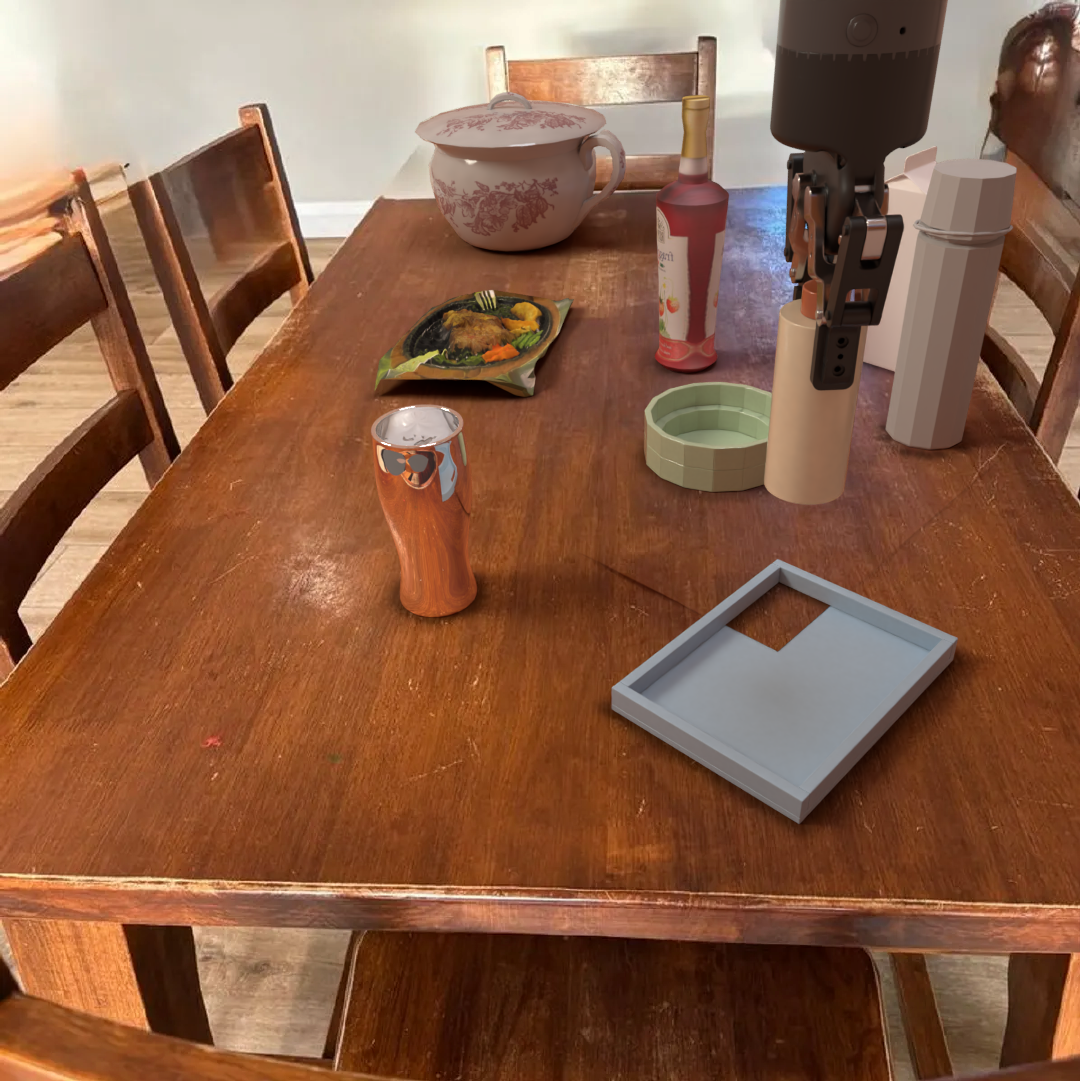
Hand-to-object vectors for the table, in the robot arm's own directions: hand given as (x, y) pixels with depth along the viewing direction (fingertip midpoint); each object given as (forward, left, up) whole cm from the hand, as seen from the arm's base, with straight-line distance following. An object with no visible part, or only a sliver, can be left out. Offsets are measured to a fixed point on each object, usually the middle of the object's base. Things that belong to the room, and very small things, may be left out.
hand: (818, 365), depth 57 cm
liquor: (-36, -36, -23) cm, 56 cm away
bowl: (-21, -21, -23) cm, 38 cm away
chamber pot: (-57, -84, -23) cm, 105 cm away
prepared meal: (-25, -58, -23) cm, 68 cm away
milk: (-52, -20, -23) cm, 61 cm away
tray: (+1, +1, -23) cm, 23 cm away
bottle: (0, 0, -8) cm, 8 cm away
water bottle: (-38, -9, -23) cm, 46 cm away
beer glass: (+10, -25, -23) cm, 36 cm away
